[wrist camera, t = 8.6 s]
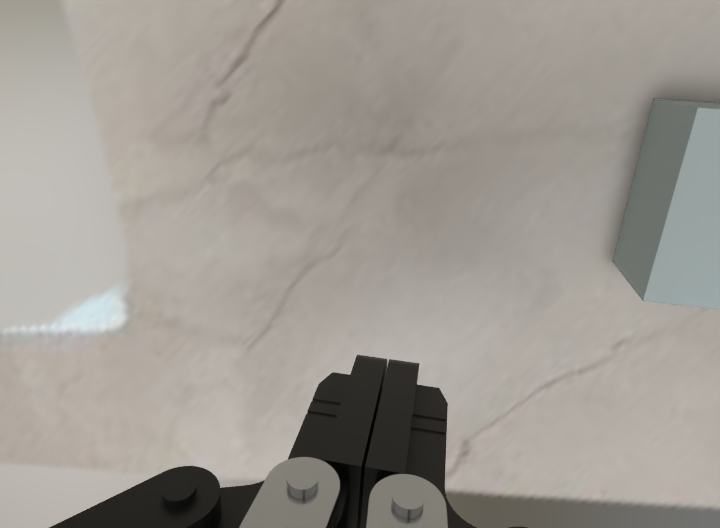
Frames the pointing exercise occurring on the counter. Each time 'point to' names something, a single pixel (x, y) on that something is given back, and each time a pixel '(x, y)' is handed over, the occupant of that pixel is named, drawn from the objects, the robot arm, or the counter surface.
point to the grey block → (675, 208)
